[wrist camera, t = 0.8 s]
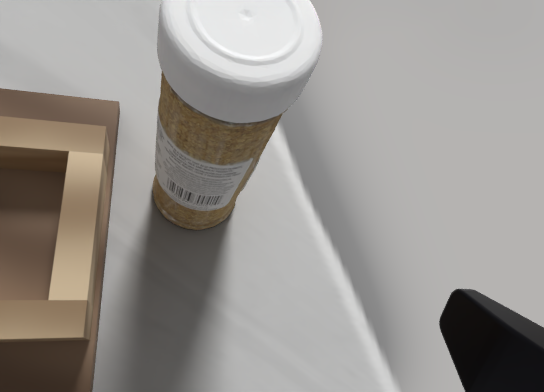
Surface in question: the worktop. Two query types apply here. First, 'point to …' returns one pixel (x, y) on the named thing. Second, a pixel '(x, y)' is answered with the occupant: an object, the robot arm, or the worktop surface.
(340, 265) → the worktop surface
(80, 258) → the socket
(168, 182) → the spice jar
